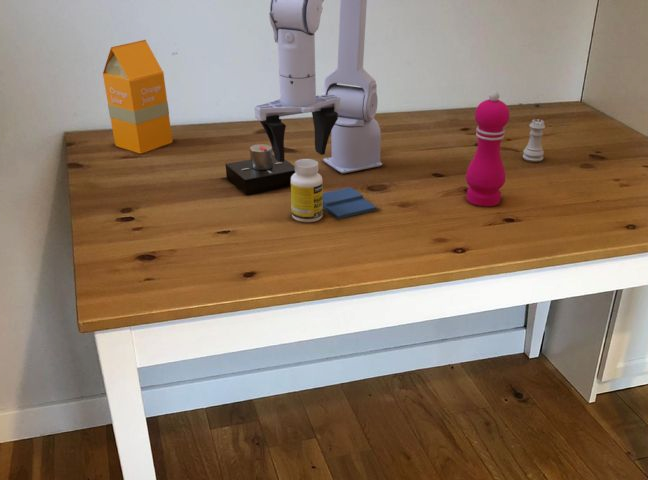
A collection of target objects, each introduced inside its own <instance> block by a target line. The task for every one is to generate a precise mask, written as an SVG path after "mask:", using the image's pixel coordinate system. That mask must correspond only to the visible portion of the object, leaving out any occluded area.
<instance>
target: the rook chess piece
mask: <svg viewBox="0 0 648 480" xmlns="http://www.w3.org/2000/svg"><path fill="white" fill-rule="evenodd" d="M529 128H530V131H529V139H528V143H527V145H526V146H525V148H524V149H523V154H522V158H523V160H525V161H527V162H530V163H540V162H542V161H543V160H544V154H545V153H544V152H545V151H544V150H543V145H542V137H543V135H544V133H543V131H544V129H545V128H546V125H545V121H544V120H543V119H532V120H531V122H530V124H529Z"/></svg>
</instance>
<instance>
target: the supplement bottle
mask: <svg viewBox="0 0 648 480" xmlns="http://www.w3.org/2000/svg"><path fill="white" fill-rule="evenodd" d="M293 165H294V166H295V172H296V173H294V174H293V175H292V177H291V186H290V204H291V205H290V206H291V217H292V219H294V220H295V221H297V222H301V223H315V222H318V221H320V220H321V219H322V218H323V215H324V209H323V193H324V190H323V188H324V187H323V186H324V185H323V184H324V183H323V181H324V179H323V177H322V175H321V174H320V173H318V172H319V161H317V159H316V160H315V159H313V158H301V159H300V158H299V159H297V160H295V161H294V163H293Z"/></svg>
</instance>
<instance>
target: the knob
mask: <svg viewBox="0 0 648 480" xmlns="http://www.w3.org/2000/svg"><path fill="white" fill-rule="evenodd" d="M249 152H250V159H251V167H252V168H253V169H256V170H267V169H271V168H272V167H273V158H272V155H273V148H272V145H271V144H266V143H257V144H253V145H251V146H250V147H249Z"/></svg>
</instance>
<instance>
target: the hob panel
mask: <svg viewBox="0 0 648 480" xmlns="http://www.w3.org/2000/svg"><path fill="white" fill-rule="evenodd" d="M272 158H273V167H272V168H271V169H267V170H256V169H253V168H252V167H251V158H250V159H245V160H239V161H235V162H228V163H225V174H226V180H228V181H229V183H231V184H232V185H234V186H235V187H236V188H237V189H238V190H239V191H240V192H242V193H243V195H245V196H249V195H255V194H259V193H265V192H270V191H276V190H280V189H284V188H288V187H289V188H290V187H291V177H292V175H293V174H294V173H296V172H295V166H294V164H292V163H291V162H289V161H288V160H287V159H285V158H284V162H279V161H277V160H276V159H275V156H274V154H272Z"/></svg>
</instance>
